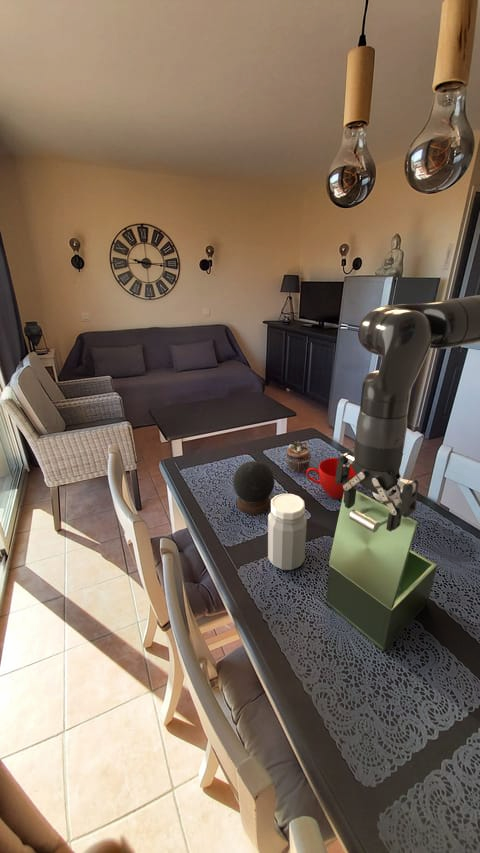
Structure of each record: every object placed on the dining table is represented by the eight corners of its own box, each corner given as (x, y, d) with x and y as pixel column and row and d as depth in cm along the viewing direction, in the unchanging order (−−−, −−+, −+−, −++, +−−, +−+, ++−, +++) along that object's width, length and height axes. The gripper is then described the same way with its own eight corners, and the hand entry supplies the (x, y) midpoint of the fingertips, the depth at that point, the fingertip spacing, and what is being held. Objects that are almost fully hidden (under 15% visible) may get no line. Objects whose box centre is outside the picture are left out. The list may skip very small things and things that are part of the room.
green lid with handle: (347, 485, 72) (330, 491, 69) (418, 522, 61) (402, 531, 58) (330, 562, 78) (314, 571, 75) (393, 608, 67) (377, 620, 64)
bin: (370, 566, 92) (376, 529, 87) (427, 604, 82) (437, 564, 77) (325, 603, 83) (329, 564, 78) (383, 652, 72) (391, 610, 67)
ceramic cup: (306, 480, 130) (307, 455, 126) (355, 484, 127) (358, 459, 122) (304, 501, 118) (305, 475, 114) (358, 506, 115) (361, 479, 111)
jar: (300, 577, 90) (303, 518, 82) (262, 567, 93) (262, 510, 86) (307, 550, 98) (311, 495, 91) (273, 542, 101) (273, 488, 94)
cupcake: (280, 469, 137) (281, 445, 133) (292, 458, 145) (293, 436, 141) (303, 476, 132) (305, 452, 128) (314, 464, 140) (316, 441, 135)
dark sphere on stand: (244, 521, 110) (242, 479, 104) (227, 498, 121) (225, 459, 115) (281, 509, 115) (282, 468, 109) (262, 488, 126) (262, 450, 120)
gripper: (435, 443, 55) (418, 527, 62) (356, 417, 66) (349, 492, 72) (409, 459, 51) (394, 548, 58) (330, 429, 62) (324, 507, 68)
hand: (369, 516), depth 65 cm, fingers open, 8 cm apart
